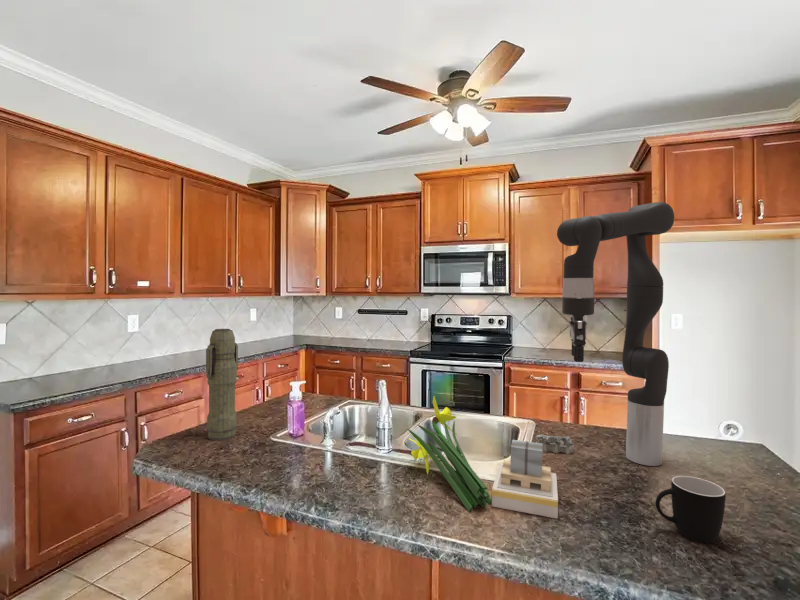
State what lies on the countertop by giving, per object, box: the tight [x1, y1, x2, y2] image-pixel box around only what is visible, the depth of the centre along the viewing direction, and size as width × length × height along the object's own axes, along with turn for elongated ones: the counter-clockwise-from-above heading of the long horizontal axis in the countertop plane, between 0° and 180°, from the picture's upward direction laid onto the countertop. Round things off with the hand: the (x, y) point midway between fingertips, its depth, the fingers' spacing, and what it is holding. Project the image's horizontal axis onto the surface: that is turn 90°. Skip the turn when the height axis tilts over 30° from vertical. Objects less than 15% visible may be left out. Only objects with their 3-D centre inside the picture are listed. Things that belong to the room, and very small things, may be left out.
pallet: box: [501, 439, 552, 492], centre depth 98 cm, size 8×11×8 cm
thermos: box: [205, 328, 239, 441], centre depth 135 cm, size 9×12×35 cm
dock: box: [491, 464, 559, 519], centre depth 98 cm, size 14×14×4 cm
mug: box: [655, 475, 727, 544], centre depth 84 cm, size 12×9×10 cm
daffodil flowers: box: [407, 395, 492, 513], centre depth 107 cm, size 17×15×35 cm
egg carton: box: [535, 434, 575, 455], centre depth 129 cm, size 11×8×4 cm
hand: (577, 358), depth 106 cm, fingers open, 8 cm apart
